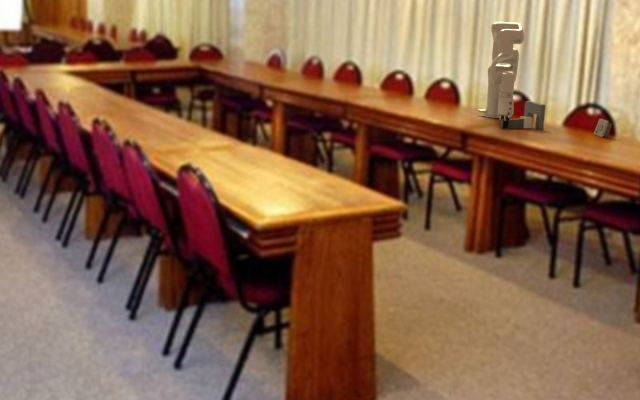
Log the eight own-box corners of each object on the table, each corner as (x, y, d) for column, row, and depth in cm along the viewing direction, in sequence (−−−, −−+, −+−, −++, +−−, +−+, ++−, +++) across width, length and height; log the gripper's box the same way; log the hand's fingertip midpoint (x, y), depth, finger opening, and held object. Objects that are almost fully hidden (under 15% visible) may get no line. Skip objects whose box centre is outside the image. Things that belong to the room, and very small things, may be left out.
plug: (503, 128, 489) (504, 118, 488) (498, 127, 494) (499, 116, 492) (531, 128, 495) (532, 117, 494) (526, 126, 500) (527, 116, 499)
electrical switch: (593, 134, 480) (596, 118, 478) (601, 135, 481) (605, 119, 479) (601, 137, 472) (604, 120, 469) (610, 138, 473) (613, 121, 470)
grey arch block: (538, 129, 491) (541, 105, 488) (523, 124, 506) (525, 101, 502) (543, 129, 492) (545, 104, 489) (527, 124, 507) (529, 100, 503)
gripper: (520, 96, 481) (517, 129, 486) (504, 92, 496) (501, 124, 501) (508, 96, 479) (505, 129, 483) (493, 93, 494) (490, 125, 498)
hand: (503, 126), depth 492 cm, fingers closed on plug, 3 cm apart
